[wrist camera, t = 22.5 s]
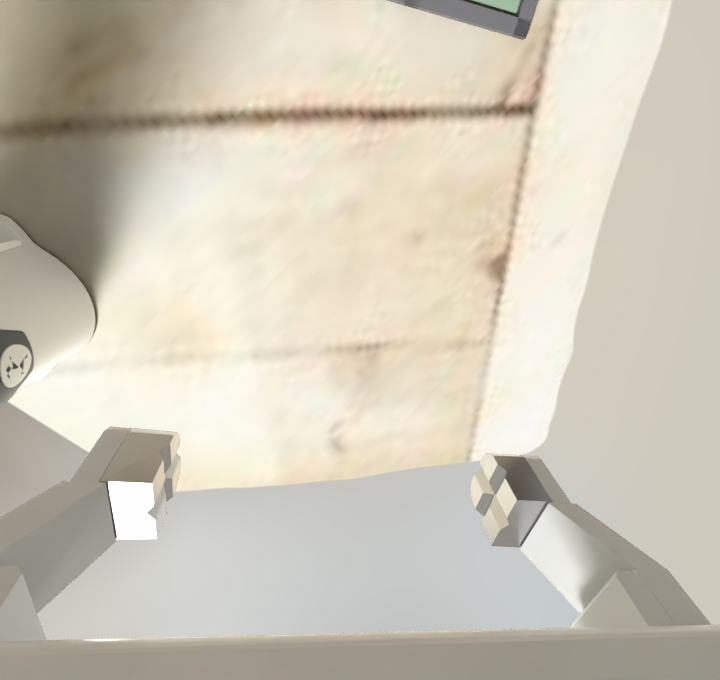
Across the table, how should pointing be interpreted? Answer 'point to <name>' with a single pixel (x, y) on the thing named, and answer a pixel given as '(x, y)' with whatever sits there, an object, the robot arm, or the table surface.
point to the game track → (482, 13)
